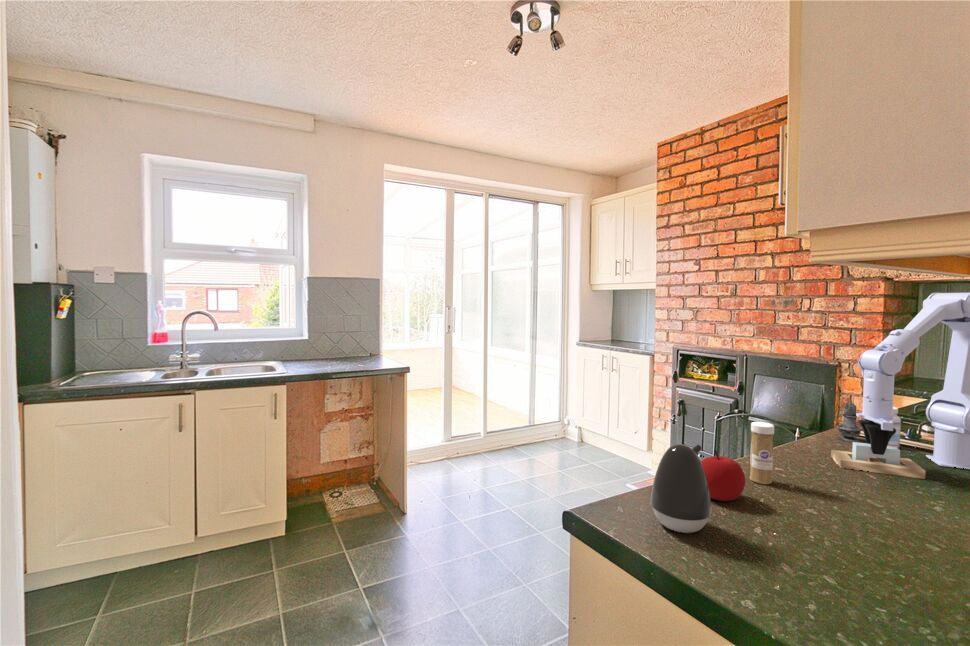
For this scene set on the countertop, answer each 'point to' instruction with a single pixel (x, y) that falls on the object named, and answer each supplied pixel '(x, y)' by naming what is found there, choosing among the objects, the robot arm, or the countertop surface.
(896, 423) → the pill bottle
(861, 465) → the wooden slotted board
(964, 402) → the robot arm
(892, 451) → the pale blue u-shaped block
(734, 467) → the apple
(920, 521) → the countertop surface
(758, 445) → the sprinkles bottle
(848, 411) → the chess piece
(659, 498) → the grey egg-shaped body
